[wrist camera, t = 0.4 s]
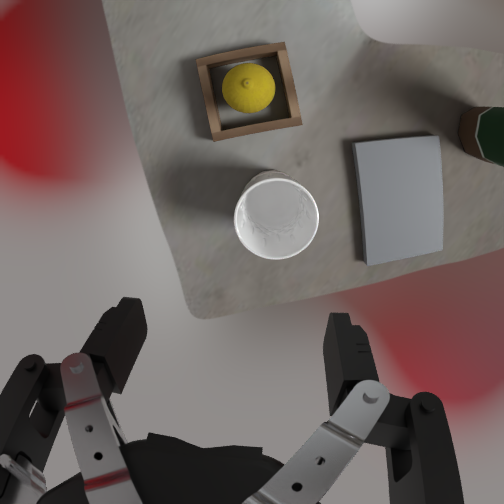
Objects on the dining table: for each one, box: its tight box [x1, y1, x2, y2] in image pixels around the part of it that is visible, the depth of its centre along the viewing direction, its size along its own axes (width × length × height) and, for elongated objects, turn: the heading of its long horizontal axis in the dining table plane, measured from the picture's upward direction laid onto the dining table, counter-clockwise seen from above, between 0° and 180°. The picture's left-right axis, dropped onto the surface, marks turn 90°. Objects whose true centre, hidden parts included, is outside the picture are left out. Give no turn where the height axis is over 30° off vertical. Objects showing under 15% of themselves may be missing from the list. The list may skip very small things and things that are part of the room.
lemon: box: [222, 63, 275, 113], centre depth 30 cm, size 6×6×8 cm
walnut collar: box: [196, 42, 302, 142], centre depth 33 cm, size 10×10×2 cm
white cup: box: [234, 170, 319, 259], centre depth 34 cm, size 8×8×10 cm
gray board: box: [352, 135, 443, 266], centre depth 38 cm, size 16×12×2 cm
